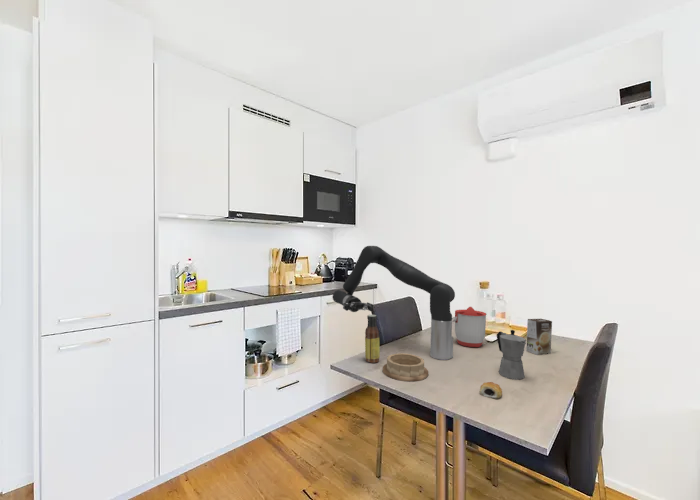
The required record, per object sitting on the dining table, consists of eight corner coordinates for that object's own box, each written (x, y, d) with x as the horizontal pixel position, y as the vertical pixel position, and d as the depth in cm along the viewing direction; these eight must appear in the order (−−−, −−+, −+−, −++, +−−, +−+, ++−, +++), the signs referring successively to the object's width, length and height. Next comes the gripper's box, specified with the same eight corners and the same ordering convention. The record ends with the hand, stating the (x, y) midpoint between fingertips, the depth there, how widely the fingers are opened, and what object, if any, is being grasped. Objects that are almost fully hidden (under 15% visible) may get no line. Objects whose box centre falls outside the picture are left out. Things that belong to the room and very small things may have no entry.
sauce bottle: (380, 359, 140) (382, 314, 140) (377, 364, 134) (378, 317, 134) (366, 357, 142) (367, 313, 142) (362, 362, 136) (363, 316, 136)
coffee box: (537, 355, 152) (538, 321, 152) (525, 351, 158) (526, 318, 158) (551, 353, 155) (552, 320, 155) (539, 349, 161) (540, 318, 161)
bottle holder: (413, 362, 138) (413, 350, 138) (437, 378, 121) (438, 365, 121) (375, 366, 132) (375, 354, 132) (395, 383, 115) (395, 370, 115)
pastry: (484, 386, 116) (484, 375, 116) (504, 391, 112) (504, 380, 112) (478, 395, 108) (479, 384, 108) (500, 401, 104) (500, 390, 104)
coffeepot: (534, 381, 121) (535, 334, 121) (513, 382, 119) (514, 334, 118) (506, 366, 136) (507, 324, 136) (486, 367, 134) (487, 325, 134)
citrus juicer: (448, 339, 176) (449, 303, 175) (480, 341, 173) (482, 304, 173) (453, 347, 160) (454, 308, 160) (489, 350, 158) (490, 310, 158)
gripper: (338, 296, 161) (349, 301, 146) (364, 295, 166) (377, 301, 150) (338, 310, 161) (348, 318, 146) (364, 309, 166) (377, 316, 150)
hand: (363, 309), depth 148 cm, fingers open, 8 cm apart
